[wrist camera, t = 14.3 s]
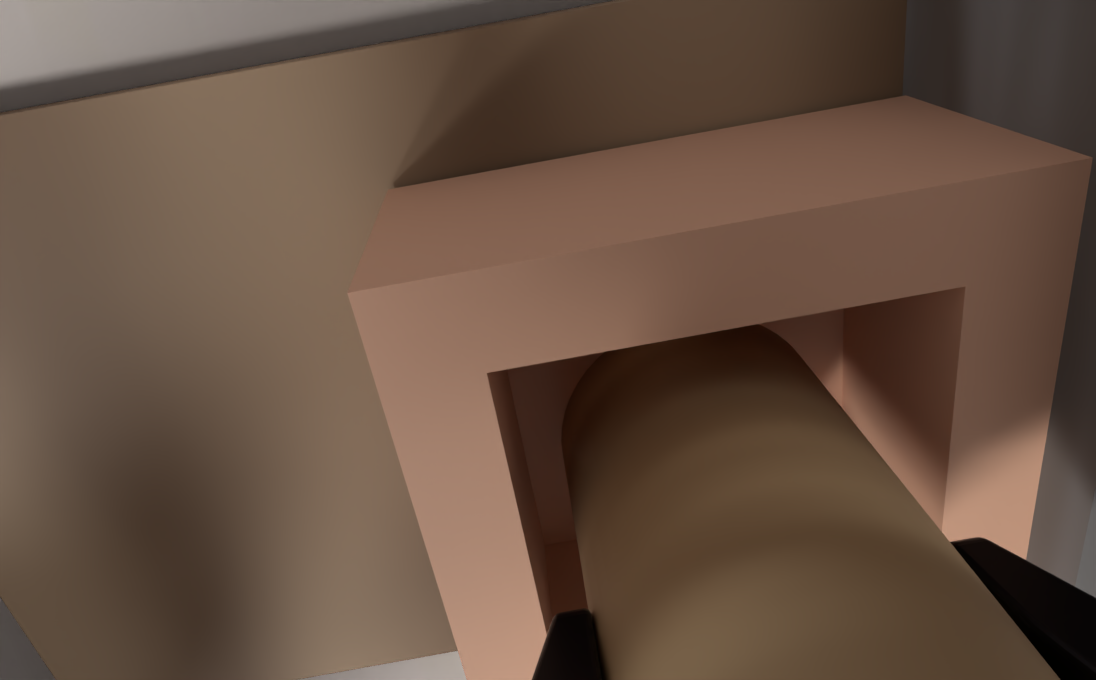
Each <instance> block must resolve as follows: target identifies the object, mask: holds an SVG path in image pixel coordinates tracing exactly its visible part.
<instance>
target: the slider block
mask: <svg viewBox="0 0 1096 680" xmlns="http://www.w3.org/2000/svg"><path fill="white" fill-rule="evenodd" d="M1092 160H1093V158H1092V157H1089V156H1086V155H1083V154H1080V153H1077V152H1074V151H1071V150H1068V149H1065V148H1062V147H1059V146H1056V145H1053V144H1050V143H1047V142H1044V141H1041V140H1038V139H1035V138H1032V137H1029V136H1026V135H1023V134H1020V133H1017V132H1014V131H1011V130H1008V129H1005V128H1002V127H999V126H996V125H993V124H990V123H987V122H984V121H981V120H978V119H975V118H972V117H969V116H966V115H963V114H960V113H957V112H954V111H951V110H948V109H945V108H942V107H939V106H936V105H933V104H930V103H927V102H924V101H921V100H918V99H915V98H912V97H909V96H906V95H905V96H899V97H894V98H888V99H883V100H877V101H872V102H866V103H861V104H855V105H850V106H844V107H839V108H833V109H828V110H822V111H817V112H811V113H806V114H800V115H795V116H789V117H784V118H778V119H773V120H767V121H762V122H756V123H751V124H745V125H740V126H734V127H729V128H723V129H718V130H712V131H707V132H701V133H696V134H690V135H685V136H679V137H674V138H668V139H663V140H657V141H652V142H646V143H641V144H635V145H630V146H624V147H619V148H613V149H608V150H602V151H597V152H591V153H586V154H580V155H575V156H569V157H564V158H558V159H553V160H547V161H542V162H536V163H531V164H525V165H520V166H514V167H509V168H503V169H498V170H492V171H487V172H481V173H476V174H470V175H465V176H459V177H454V178H448V179H443V180H437V181H432V182H426V183H421V184H415V185H410V186H404V187H399V188H393V189H388V191H387V193H386V196H385V198H384V201H383V203H382V206H381V208H380V211H379V214H378V216H377V219H376V221H375V224H374V226H373V229H372V231H371V234H370V236H369V239H368V242H367V244H366V247H365V249H364V252H363V254H362V257H361V259H360V262H359V264H358V267H357V269H356V272H355V275H354V277H353V280H352V282H351V285H350V287H349V290H348V292H347V294H348V297H349V300H350V304H351V307H352V310H353V313H354V316H355V320H356V323H357V326H358V329H359V333H360V336H361V339H362V342H363V346H364V349H365V352H366V355H367V359H368V362H369V365H370V368H371V371H372V375H373V378H374V381H375V384H376V388H377V391H378V394H379V397H380V401H381V404H382V407H383V410H384V413H385V417H386V420H387V423H388V426H389V430H390V433H391V436H392V439H393V443H394V446H395V449H396V452H397V456H398V459H399V462H400V465H401V468H402V472H403V475H404V478H405V481H406V485H407V488H408V491H409V494H410V498H411V501H412V504H413V507H414V510H415V514H416V517H417V520H418V523H419V527H420V530H421V533H422V536H423V540H424V543H425V546H426V549H427V553H428V556H429V559H430V562H431V565H432V569H433V572H434V575H435V578H436V582H437V585H438V588H439V591H440V595H441V598H442V601H443V604H444V607H445V611H446V614H447V617H448V620H449V624H450V627H451V630H452V633H453V637H454V640H455V643H456V646H457V650H458V653H459V656H460V659H461V662H462V666H463V669H464V672H465V675H466V679H467V680H532V677H533V674H534V671H535V668H536V665H537V662H538V659H539V657H540V654H541V651H542V648H543V645H544V642H545V639H546V636H547V633H548V630H549V627H550V624H551V622H552V619H553V617H554V616H555V615H556V614H557V613H560V612H566V611H571V610H577V609H582V608H586V609H588V604H587V598H586V592H585V585H584V579H583V573H582V567H581V561H580V555H579V549H578V543H577V537H576V531H575V525H574V519H573V513H572V507H571V501H570V495H569V489H568V483H567V477H566V471H565V465H564V459H563V452H562V443H561V437H562V424H563V419H564V414H565V410H566V408H567V405H568V402H569V399H570V397H571V395H572V393H573V391H574V389H575V387H576V385H577V383H578V382H579V380H580V379H581V378H582V376H583V375H584V373H585V372H586V371H587V369H588V368H589V367H590V366H591V365H592V364H593V363H594V362H595V361H596V359H597V358H598V357H599V356H601V355H602V354H603V353H604V352H606V351H612V350H617V349H623V348H628V347H634V346H639V345H645V344H650V343H656V342H661V341H667V340H672V339H678V338H683V337H689V336H694V335H700V334H705V333H711V332H717V331H722V330H728V329H733V328H739V327H744V326H750V325H755V324H759V325H762V326H764V327H766V328H768V329H769V330H771V331H773V332H775V333H776V334H778V335H779V336H780V337H782V338H783V339H784V340H785V341H787V342H788V343H789V344H790V345H791V346H792V347H793V348H794V349H795V351H796V352H797V353H798V354H799V355H800V356H801V357H802V359H803V360H804V361H805V362H806V364H807V365H808V366H809V367H810V369H811V370H812V371H813V372H814V374H815V375H816V376H817V377H818V379H819V380H820V381H821V382H822V384H823V385H824V386H825V387H826V389H827V390H828V391H829V392H830V393H831V395H832V396H833V397H834V398H835V400H836V401H837V402H838V403H839V405H840V406H841V407H842V408H843V410H844V411H845V412H846V413H847V415H848V416H849V417H850V418H851V420H852V421H853V422H854V423H855V425H856V426H857V427H858V428H859V430H860V431H861V432H862V433H863V435H864V436H865V437H866V438H867V440H868V441H869V442H870V443H871V444H872V446H873V447H874V448H875V449H876V451H877V452H878V453H879V454H880V456H881V457H882V458H883V459H884V461H885V462H886V463H887V464H888V466H889V467H890V468H891V469H892V471H893V472H894V473H895V474H896V476H897V477H898V478H899V479H900V481H901V482H902V483H903V484H904V486H905V487H906V488H907V489H908V490H909V492H910V493H911V494H912V495H913V497H914V498H915V499H916V500H917V502H918V503H919V504H920V505H921V507H922V508H923V509H924V510H925V512H926V513H927V514H928V515H929V517H930V518H931V519H932V520H933V522H934V523H935V524H936V525H937V527H938V528H939V529H940V530H941V532H942V533H943V534H944V535H945V537H946V538H947V539H948V540H949V541H950V542H952V541H957V540H963V539H968V538H974V537H981V538H985V539H987V540H990V541H992V542H994V543H995V544H997V545H999V546H1001V547H1003V548H1005V549H1006V550H1008V551H1010V552H1012V553H1014V554H1016V555H1018V556H1019V557H1021V558H1023V559H1025V560H1026V557H1027V551H1028V545H1029V539H1030V533H1031V527H1032V521H1033V515H1034V509H1035V503H1036V497H1037V491H1038V485H1039V479H1040V473H1041V467H1042V461H1043V455H1044V449H1045V443H1046V437H1047V431H1048V425H1049V419H1050V413H1051V407H1052V401H1053V395H1054V389H1055V382H1056V376H1057V370H1058V364H1059V358H1060V352H1061V346H1062V340H1063V334H1064V328H1065V322H1066V316H1067V310H1068V304H1069V298H1070V292H1071V286H1072V280H1073V274H1074V268H1075V262H1076V256H1077V250H1078V244H1079V238H1080V232H1081V226H1082V220H1083V214H1084V208H1085V202H1086V196H1087V190H1088V184H1089V178H1090V172H1091V166H1092Z"/></svg>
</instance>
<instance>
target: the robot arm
mask: <svg viewBox="0 0 1096 680" xmlns="http://www.w3.org/2000/svg"><path fill="white" fill-rule="evenodd" d="M950 543H951V544H952V545H953V546H954V548H955V549H956V550H957V551H958V553H959V554H960V555H961V556H962V558H963V559H964V560H965V561H966V563H967V564H968V565H969V566H970V568H971V569H972V570H973V571H974V573H975V574H976V575H977V576H978V578H979V579H980V580H981V581H982V583H983V584H984V585H985V586H986V588H987V589H988V590H989V591H990V592H991V594H992V595H993V596H994V597H995V599H996V600H997V601H998V602H999V604H1000V605H1001V606H1002V607H1003V609H1004V610H1005V611H1006V612H1007V614H1008V615H1009V616H1010V617H1011V619H1012V620H1013V621H1014V622H1015V624H1016V625H1017V626H1018V627H1019V629H1020V630H1021V631H1022V632H1023V634H1024V635H1025V636H1026V637H1027V638H1028V640H1029V641H1030V642H1031V643H1032V645H1033V646H1034V647H1035V648H1036V650H1037V651H1038V652H1039V653H1040V655H1041V656H1042V657H1043V658H1044V660H1045V661H1046V662H1047V663H1048V665H1049V666H1050V667H1051V668H1052V670H1053V671H1054V672H1055V673H1056V675H1057V676H1058V677H1059V678H1060V680H1096V598H1095V597H1094V596H1092V595H1090V594H1088V593H1086V592H1084V591H1082V590H1081V589H1079V588H1077V587H1075V586H1073V585H1071V584H1070V583H1068V582H1066V581H1064V580H1062V579H1060V578H1058V577H1057V576H1055V575H1053V574H1051V573H1049V572H1047V571H1045V570H1044V569H1042V568H1040V567H1038V566H1036V565H1034V564H1032V563H1031V562H1029V561H1027V560H1025V559H1023V558H1021V557H1019V556H1018V555H1016V554H1014V553H1012V552H1010V551H1008V550H1006V549H1005V548H1003V547H1001V546H999V545H997V544H995V543H994V542H992V541H990V540H987V539H985V538H981V537H974V538H968V539H963V540H957V541H952V542H950ZM532 680H603V679H602V674H601V668H600V662H599V656H598V650H597V644H596V638H595V632H594V626H593V620H592V615H591V612H590V611H589V610H588V609H586V608H582V609H577V610H571V611H566V612H560V613H557V614H556V615H555V616H554V617H553V619H552V622H551V624H550V627H549V630H548V633H547V636H546V639H545V642H544V645H543V648H542V651H541V654H540V657H539V659H538V662H537V665H536V668H535V671H534V674H533V677H532Z"/></svg>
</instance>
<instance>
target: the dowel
mask: <svg viewBox="0 0 1096 680" xmlns="http://www.w3.org/2000/svg"><path fill="white" fill-rule="evenodd" d="M561 443H562V452H563V459H564V465H565V471H566V477H567V483H568V489H569V495H570V501H571V507H572V513H573V519H574V525H575V531H576V537H577V543H578V549H579V555H580V561H581V567H582V573H583V579H584V585H585V592H586V598H587V604H588V610H589V611H590V612H591V615H592V620H593V626H594V632H595V638H596V644H597V650H598V656H599V662H600V668H601V674H602V679H603V680H1060V678H1059V677H1058V676H1057V675H1056V673H1055V672H1054V671H1053V670H1052V668H1051V667H1050V666H1049V665H1048V663H1047V662H1046V661H1045V660H1044V658H1043V657H1042V656H1041V655H1040V653H1039V652H1038V651H1037V650H1036V648H1035V647H1034V646H1033V645H1032V643H1031V642H1030V641H1029V640H1028V638H1027V637H1026V636H1025V635H1024V634H1023V632H1022V631H1021V630H1020V629H1019V627H1018V626H1017V625H1016V624H1015V622H1014V621H1013V620H1012V619H1011V617H1010V616H1009V615H1008V614H1007V612H1006V611H1005V610H1004V609H1003V607H1002V606H1001V605H1000V604H999V602H998V601H997V600H996V599H995V597H994V596H993V595H992V594H991V592H990V591H989V590H988V589H987V588H986V586H985V585H984V584H983V583H982V581H981V580H980V579H979V578H978V576H977V575H976V574H975V573H974V571H973V570H972V569H971V568H970V566H969V565H968V564H967V563H966V561H965V560H964V559H963V558H962V556H961V555H960V554H959V553H958V551H957V550H956V549H955V548H954V546H953V545H952V544H951V543H950V541H949V540H948V539H947V538H946V537H945V535H944V534H943V533H942V532H941V530H940V529H939V528H938V527H937V525H936V524H935V523H934V522H933V520H932V519H931V518H930V517H929V515H928V514H927V513H926V512H925V510H924V509H923V508H922V507H921V505H920V504H919V503H918V502H917V500H916V499H915V498H914V497H913V495H912V494H911V493H910V492H909V490H908V489H907V488H906V487H905V486H904V484H903V483H902V482H901V481H900V479H899V478H898V477H897V476H896V474H895V473H894V472H893V471H892V469H891V468H890V467H889V466H888V464H887V463H886V462H885V461H884V459H883V458H882V457H881V456H880V454H879V453H878V452H877V451H876V449H875V448H874V447H873V446H872V444H871V443H870V442H869V441H868V440H867V438H866V437H865V436H864V435H863V433H862V432H861V431H860V430H859V428H858V427H857V426H856V425H855V423H854V422H853V421H852V420H851V418H850V417H849V416H848V415H847V413H846V412H845V411H844V410H843V408H842V407H841V406H840V405H839V403H838V402H837V401H836V400H835V398H834V397H833V396H832V395H831V393H830V392H829V391H828V390H827V389H826V387H825V386H824V385H823V384H822V382H821V381H820V380H819V379H818V377H817V376H816V375H815V374H814V372H813V371H812V370H811V369H810V367H809V366H808V365H807V364H806V362H805V361H804V360H803V359H802V357H801V356H800V355H799V354H798V353H797V352H796V351H795V349H794V348H793V347H792V346H791V345H790V344H789V343H788V342H787V341H785V340H784V339H783V338H782V337H780V336H779V335H778V334H776V333H775V332H773V331H771V330H769V329H768V328H766V327H764V326H762V325H759V324H755V325H750V326H744V327H739V328H733V329H728V330H722V331H717V332H711V333H705V334H700V335H694V336H689V337H683V338H678V339H672V340H667V341H661V342H656V343H650V344H645V345H639V346H634V347H628V348H623V349H617V350H612V351H606V352H604V353H603V354H602V355H601V356H599V357H598V358H597V359H596V361H595V362H594V363H593V364H592V365H591V366H590V367H589V368H588V369H587V371H586V372H585V373H584V375H583V376H582V378H581V379H580V380H579V382H578V383H577V385H576V387H575V389H574V391H573V393H572V395H571V397H570V399H569V402H568V405H567V408H566V410H565V414H564V419H563V424H562V437H561Z"/></svg>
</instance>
